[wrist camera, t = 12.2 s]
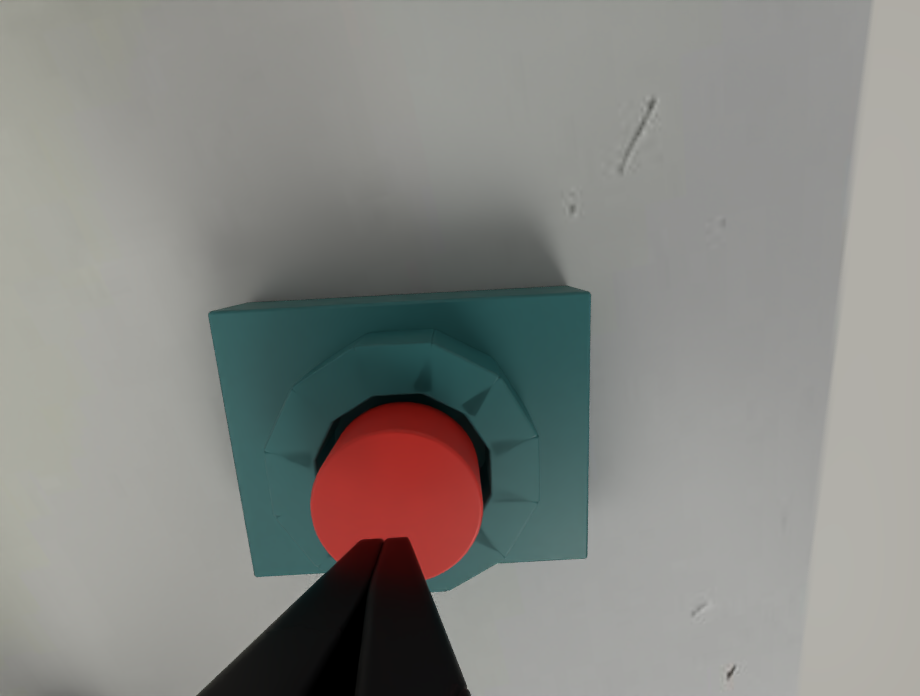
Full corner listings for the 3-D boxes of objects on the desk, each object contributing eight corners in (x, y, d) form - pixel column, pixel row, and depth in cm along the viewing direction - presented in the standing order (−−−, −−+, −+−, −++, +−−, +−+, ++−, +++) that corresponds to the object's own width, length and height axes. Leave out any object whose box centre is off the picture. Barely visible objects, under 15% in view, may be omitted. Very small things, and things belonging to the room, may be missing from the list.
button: (475, 396, 10) (480, 424, 9) (481, 530, 11) (486, 581, 9) (323, 404, 10) (298, 434, 9) (340, 538, 11) (319, 590, 9)
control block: (569, 285, 13) (618, 298, 9) (568, 516, 15) (609, 608, 11) (245, 302, 13) (159, 323, 9) (282, 532, 15) (222, 630, 11)
